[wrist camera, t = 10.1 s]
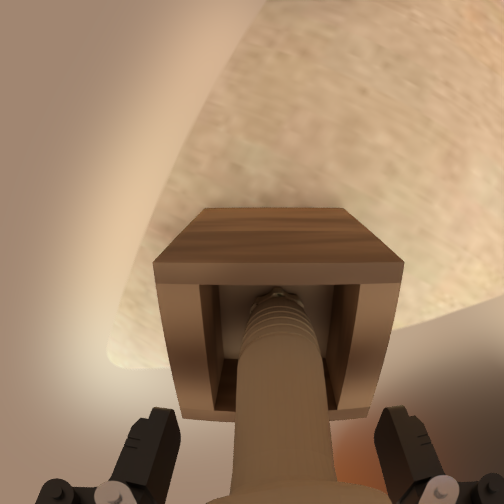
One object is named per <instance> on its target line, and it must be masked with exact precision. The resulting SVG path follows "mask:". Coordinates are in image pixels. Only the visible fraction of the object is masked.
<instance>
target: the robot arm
mask: <svg viewBox="0 0 504 504" xmlns="http://www.w3.org/2000/svg"><path fill="white" fill-rule="evenodd" d="M180 442H181V434H180V429H179V426H178V423H177V420H176V416H175V412H174V410H173V409H167V408H159V407H154V408H153V409H152V411H151V414H150V416H149V419H145V418H140V419H139V420H138V421H137V422H136V423H135V424H134V425H133V426H132V427H131V430H130V432H129V434H128V438H127V439H126V442H125V444H124V447H123V449H122V451H121V454H120V456H119V459H118V461H117V463H116V466H115V468H114V471H113V473H112V476H111V478H110V479H109V480H108V481H107V482H104V483H102V484H101V485H99V486H98V487H94V488H92V487H91V488H90V487H88V488H87V487H72V486H71V485H70V484H69V483H68V482H66V481H65V480H62V479H51V480H49V481H47V482H46V483H45V484H44V485H43V487H42V489H41V491H40V493H39V496H38V498H37V501H36V503H35V504H165V501H166V497H167V493H168V489H169V486H170V482H171V478H172V474H173V470H174V466H175V462H176V459H177V455H178V451H179V447H180ZM374 443H375V447H376V450H377V454H378V458H379V461H380V465H381V469H382V473H383V477H384V480H385V484H386V488H387V492H388V496H389V499H390V500H391V502H392V504H504V478H503V477H502V476H501V475H499V474H497V473H489V474H486V475H485V476H483V477H482V478H481V479H480V480H479V481H476V482H457V481H456V480H455V479H453V478H452V477H450V476H446V475H445V473H444V471H443V469H442V466H441V464H440V461H439V460H438V457H437V454H436V452H435V449H434V447H433V444H431V440H430V437H429V436H428V433H427V431H426V428H425V426H424V424H423V423H422V422H421V421H420V420H419V419H418V418H417V417H416V416H410V417H409V415H408V413H407V410H406V408H405V407H404V406H403V405H400V406H394V407H387V408H384V410H383V412H382V414H381V417H380V420H379V422H378V424H377V427H376V429H375V433H374Z"/></svg>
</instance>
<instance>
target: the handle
mask: <svg viewBox="0 0 504 504" xmlns="http://www.w3.org/2000/svg"><path fill="white" fill-rule="evenodd" d="M303 308H304V305H303V303H302V301H301V299H300V298H299V297H298V296H297V295H295V294H294V295H291V294H288V293H286V292H285V291H284V290H283V289H282V288H279V287H277V288H273V290H272V291H271V292H270V293H268V294H267V295H265V296H262V297H257V298H256V299H255V300H254V302H253V303H252V306H251V309H250V316H249V319H248V321H247V324H246V327H245V330H244V334H243V338H242V343H241V348H240V353H239V359H238V367H237V390H236V416H235V437H234V456H233V457H234V458H233V473H232V481H231V489H230V495H229V496H225V497H221V498H217V499H214V500H212V501H210V502H208V503H206V504H392V502H391V500H390V499H389V497H388V496H387V495H386V494H385V493H384V492H382V491H380V490H377V489H374V488H370V487H366V486H362V485H357V484H351V483H345V482H337V478H336V473H335V468H334V461H333V451H332V441H331V432H330V423H329V414H328V404H327V395H326V386H325V378H324V370H323V362H322V357H321V352H320V349H319V344H318V341H317V337H316V334H315V332H314V329H313V326H312V324H311V322H310V319H309V317H308V316H307V314H306V313H305V311H304V309H303Z"/></svg>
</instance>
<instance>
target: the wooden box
mask: <svg viewBox="0 0 504 504" xmlns="http://www.w3.org/2000/svg"><path fill="white" fill-rule="evenodd" d="M153 268H154V276H155V283H156V289H157V296H158V302H159V308H160V314H161V320H162V326H163V331H164V337H165V342H166V347H167V352H168V357H169V362H170V367H171V371H172V376H173V380H174V384H175V389H176V393H177V398H178V401H179V406H180V410H181V414H182V418H184V419H194V420H206V421H219V422H235V416H236V390H237V367H238V359H239V353H240V348H241V343H242V338H243V334H244V330H245V327H246V324H247V321H248V319H249V316H250V309H251V306H252V303H253V302H254V300H255V299H256V298H257V297H262V296H265V295H267V294H268V293H270V292H271V291H272V290H273V288H277V287H279V288H282V289H283V290H284V291H285V292H286V293H288V294H291V295H294V294H295V295H297V296H298V297H299V298H300V299H301V301H302V303H303V305H304V308H303V309H304V311H305V313H306V314H307V316H308V317H309V319H310V322H311V324H312V326H313V329H314V332H315V334H316V337H317V341H318V344H319V349H320V352H321V357H322V362H323V370H324V378H325V386H326V395H327V404H328V414H329V421H335V420H347V419H356V418H365V417H367V414H368V411H369V408H370V405H371V402H372V399H373V396H374V393H375V389H376V386H377V383H378V380H379V376H380V372H381V369H382V366H383V362H384V358H385V354H386V350H387V347H388V343H389V339H390V334H391V330H392V326H393V321H394V317H395V312H396V307H397V302H398V297H399V291H400V286H401V280H402V274H403V268H404V261H403V260H402V259H401V258H399V257H398V256H397V255H396V254H395V253H394V252H393V251H392V250H391V249H390V248H389V247H387V246H386V245H385V244H384V243H383V242H382V241H381V240H380V239H378V238H377V237H376V236H375V235H374V234H373V233H372V232H371V231H369V230H368V229H367V228H366V227H365V226H364V225H362V224H361V223H360V222H359V221H358V220H357V219H355V218H354V217H353V216H352V215H351V214H349V213H348V212H347V211H346V210H345V209H344V208H205V209H204V210H203V211H202V212H201V213H200V214H199V215H198V216H197V217H196V218H195V219H194V220H193V221H192V222H191V223H190V224H189V225H188V226H187V227H186V228H185V229H184V230H183V231H182V232H181V233H180V234H179V235H178V236H177V237H176V238H175V239H174V240H173V241H172V242H171V243H170V245H169V246H168V247H167V248H166V249H165V250H164V251H163V252H162V253H161V254H160V255H159V256H158V257H157V258H156V259H155V261H154V262H153Z"/></svg>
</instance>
